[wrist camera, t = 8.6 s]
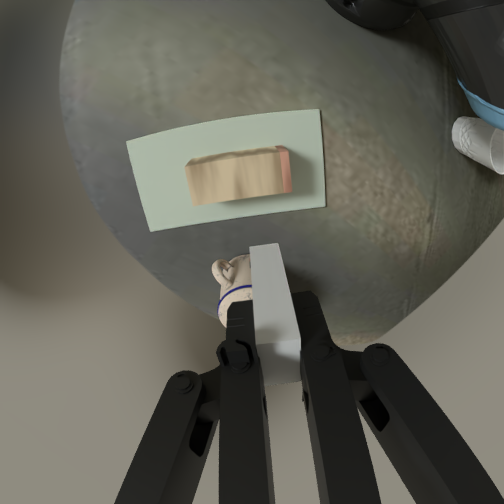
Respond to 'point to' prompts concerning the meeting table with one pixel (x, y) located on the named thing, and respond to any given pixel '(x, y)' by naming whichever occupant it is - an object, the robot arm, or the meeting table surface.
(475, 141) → the white cup
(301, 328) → the robot arm
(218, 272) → the teacup with lid
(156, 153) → the rubber mat
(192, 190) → the oak block
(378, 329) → the meeting table surface
